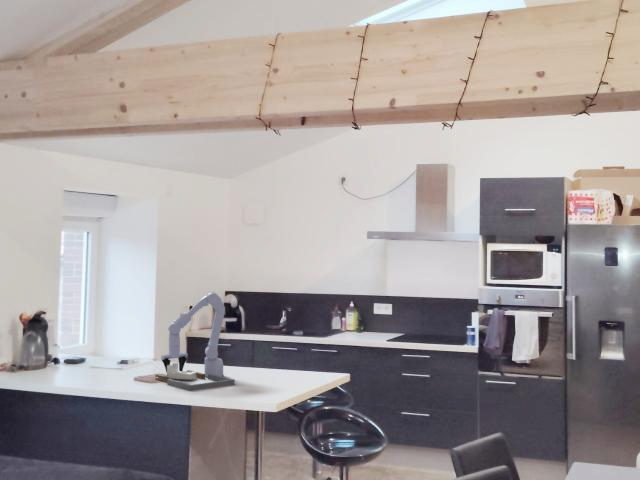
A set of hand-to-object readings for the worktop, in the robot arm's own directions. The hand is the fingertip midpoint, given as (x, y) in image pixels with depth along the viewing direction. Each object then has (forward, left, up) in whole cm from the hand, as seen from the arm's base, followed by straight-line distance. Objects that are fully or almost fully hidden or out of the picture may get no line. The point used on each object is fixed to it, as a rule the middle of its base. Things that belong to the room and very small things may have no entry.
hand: (174, 371), depth 399 cm
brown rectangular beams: (0, +6, -3) cm, 7 cm away
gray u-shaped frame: (0, +26, -3) cm, 26 cm away
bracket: (0, +8, -3) cm, 8 cm away
